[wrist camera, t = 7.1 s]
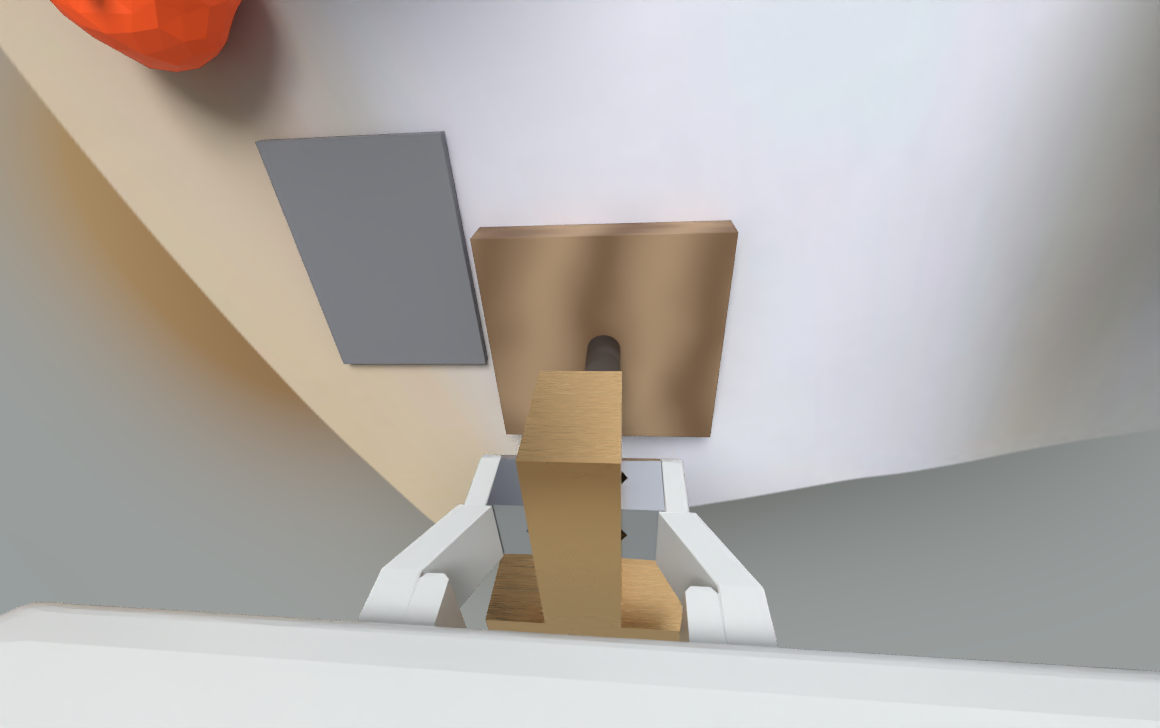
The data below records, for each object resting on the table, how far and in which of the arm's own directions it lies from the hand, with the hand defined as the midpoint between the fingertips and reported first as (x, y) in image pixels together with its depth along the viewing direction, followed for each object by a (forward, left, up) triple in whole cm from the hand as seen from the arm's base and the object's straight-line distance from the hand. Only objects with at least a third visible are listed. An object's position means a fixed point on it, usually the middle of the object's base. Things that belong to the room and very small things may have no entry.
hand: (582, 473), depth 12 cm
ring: (0, +3, -1) cm, 3 cm away
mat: (+13, +1, -18) cm, 22 cm away
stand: (0, +6, -18) cm, 19 cm away
